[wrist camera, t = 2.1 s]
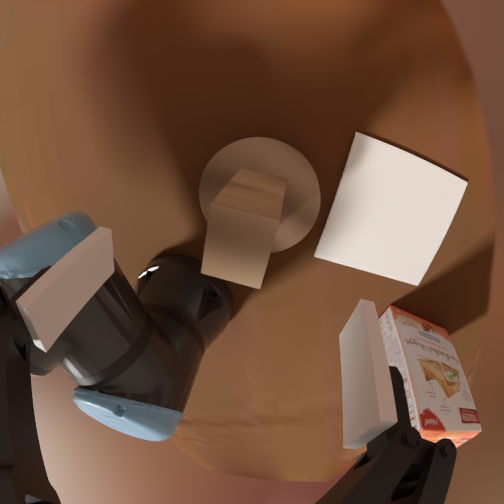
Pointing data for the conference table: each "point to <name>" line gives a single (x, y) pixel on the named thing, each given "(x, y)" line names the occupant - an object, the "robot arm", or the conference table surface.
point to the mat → (389, 211)
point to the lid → (255, 206)
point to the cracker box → (430, 377)
